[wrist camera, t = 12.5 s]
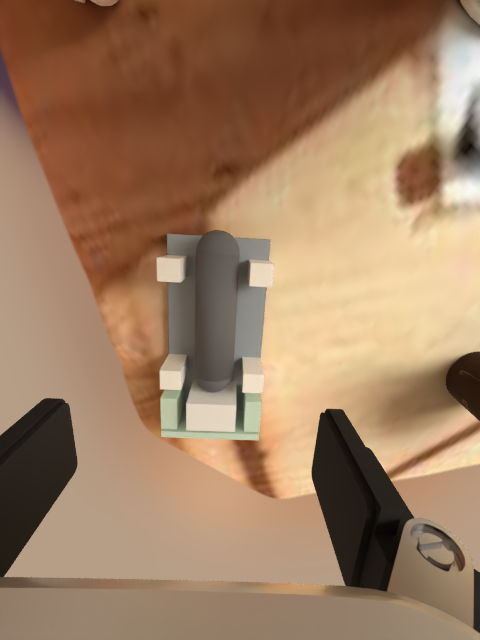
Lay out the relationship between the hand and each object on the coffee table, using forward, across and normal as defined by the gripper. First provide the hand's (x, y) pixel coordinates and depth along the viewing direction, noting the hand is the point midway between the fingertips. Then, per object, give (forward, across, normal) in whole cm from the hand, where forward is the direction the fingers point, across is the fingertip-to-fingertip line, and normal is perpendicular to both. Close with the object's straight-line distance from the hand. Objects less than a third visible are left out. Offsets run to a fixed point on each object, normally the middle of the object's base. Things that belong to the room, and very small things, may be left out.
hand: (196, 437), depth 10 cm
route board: (+20, +1, +3) cm, 21 cm away
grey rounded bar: (+19, 0, +1) cm, 19 cm away
